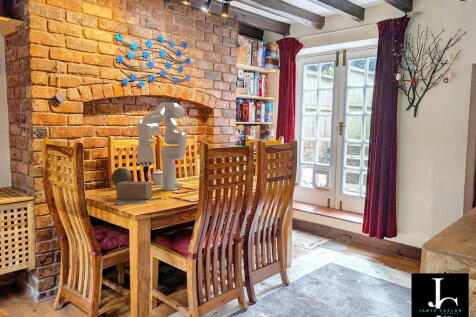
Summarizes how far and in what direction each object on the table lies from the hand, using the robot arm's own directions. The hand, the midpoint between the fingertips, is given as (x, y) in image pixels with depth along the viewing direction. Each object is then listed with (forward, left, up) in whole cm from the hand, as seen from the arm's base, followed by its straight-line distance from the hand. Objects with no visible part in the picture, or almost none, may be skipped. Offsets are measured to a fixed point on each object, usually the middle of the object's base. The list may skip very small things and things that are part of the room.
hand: (146, 172), depth 223 cm
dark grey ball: (+11, -49, -18) cm, 53 cm away
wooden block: (-2, -4, -12) cm, 13 cm away
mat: (+9, 0, -18) cm, 20 cm away
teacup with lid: (-16, -56, -18) cm, 60 cm away
